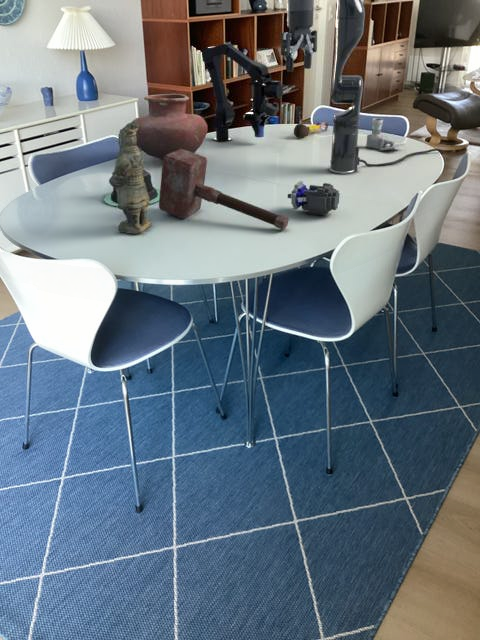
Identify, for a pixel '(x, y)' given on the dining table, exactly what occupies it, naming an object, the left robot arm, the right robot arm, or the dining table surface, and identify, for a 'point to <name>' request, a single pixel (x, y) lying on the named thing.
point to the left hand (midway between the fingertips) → (259, 134)
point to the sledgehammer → (200, 190)
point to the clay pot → (169, 126)
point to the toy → (315, 198)
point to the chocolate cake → (152, 192)
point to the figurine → (307, 129)
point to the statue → (131, 182)
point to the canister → (260, 131)
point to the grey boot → (379, 137)
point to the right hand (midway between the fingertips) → (298, 70)
